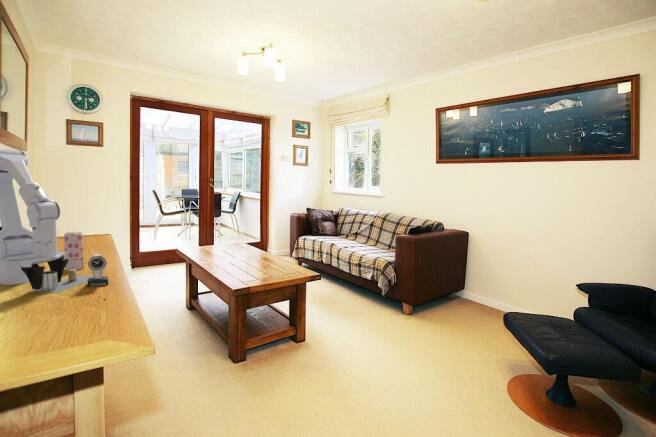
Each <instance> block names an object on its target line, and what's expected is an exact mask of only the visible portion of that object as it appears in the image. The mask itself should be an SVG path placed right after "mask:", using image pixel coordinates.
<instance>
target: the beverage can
mask: <svg viewBox="0 0 656 437" xmlns="http://www.w3.org/2000/svg"><path fill="white" fill-rule="evenodd" d="M63 242H64V245H63V246H64V252H66V254H67V257H66V258H64V259H68V263H67V265H66V266H65V268H64V270H65V271H67V272H68V270H73V269H76V271H80V270H83V269H84V266H85V265H84V244H83V243H84V242H83V233H82V231H69V232H68V231H67V232H65V233H64V235H63Z"/></svg>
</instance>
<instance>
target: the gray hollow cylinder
mask: <svg viewBox="0 0 656 437" xmlns="http://www.w3.org/2000/svg"><path fill="white" fill-rule="evenodd" d="M57 288H58V272H57V271H50V270H44V271H43V275H42V286H41V289H36V291H50V290H54V289H57Z"/></svg>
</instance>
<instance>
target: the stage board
mask: <svg viewBox="0 0 656 437" xmlns="http://www.w3.org/2000/svg"><path fill="white" fill-rule="evenodd" d="M92 277H93V275H82V274H81V275H80V274H79V275H77V281H73V282H69V277H66V278H64V279H61V281H60V282H59V283H58V288H57V289H54V290H50V291H36V289H32V290H29V291H28V293H48V294H50V293H51V294H52V293H53V294H58V293H61V292H63V291H66V290H68V289H69V290H70V289H71V288H74V287H77V286H80V285H82V284H85V283H88V278H92Z"/></svg>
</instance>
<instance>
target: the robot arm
mask: <svg viewBox="0 0 656 437" xmlns="http://www.w3.org/2000/svg"><path fill="white" fill-rule="evenodd" d="M28 165H29V157H28V155H27V153H26V152H25V151H24V150H22V149H9V148H8V149H7V148H0V226H1V230H0V285H4V286H14V285H15V286H16V285H21V284H22V285H23V284H27V283H30V286H31V288H32V290H35V289H41V286H42V275H43V271H45V268H46V266H45V265H44V266H43V265H42V266H41V265H40V264H45V263H47V265H48V267H49V271H57V272H58V283H59V282H60V281H61V280H62V277H63V275H64V270H65V266H66V265H67V263H68V259H65V258H66V257H67V254H66V252H65V251H58V241H57V240H58V237H57V236H58V235H57V221H58V220H59V218H60V215H61V208H60V205H59V203H58V202H57V201H56V200H53V199H52V198H49V197H48V195H47V194H46V192H45V190H44V189H43V187H42V186H41V184H40V183H37V182H35V181H34V179H33V178H32V176H31V172H30V171H29V169H28ZM13 180H14V181H15V182H16V183H17V185H18V186H19V189H18V194H19V196H20V197H21V199H22V201H23V202H24V204H25V206H26V207H27V208H26V216H27V219H28V221H29V226H30V228H31V230H29V229H27V228H26V227H23V224H22V219H21V215H20V214H21V213H20V211H19V204H18V201H17V198H16V191H15V188H14V183H13Z"/></svg>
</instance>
